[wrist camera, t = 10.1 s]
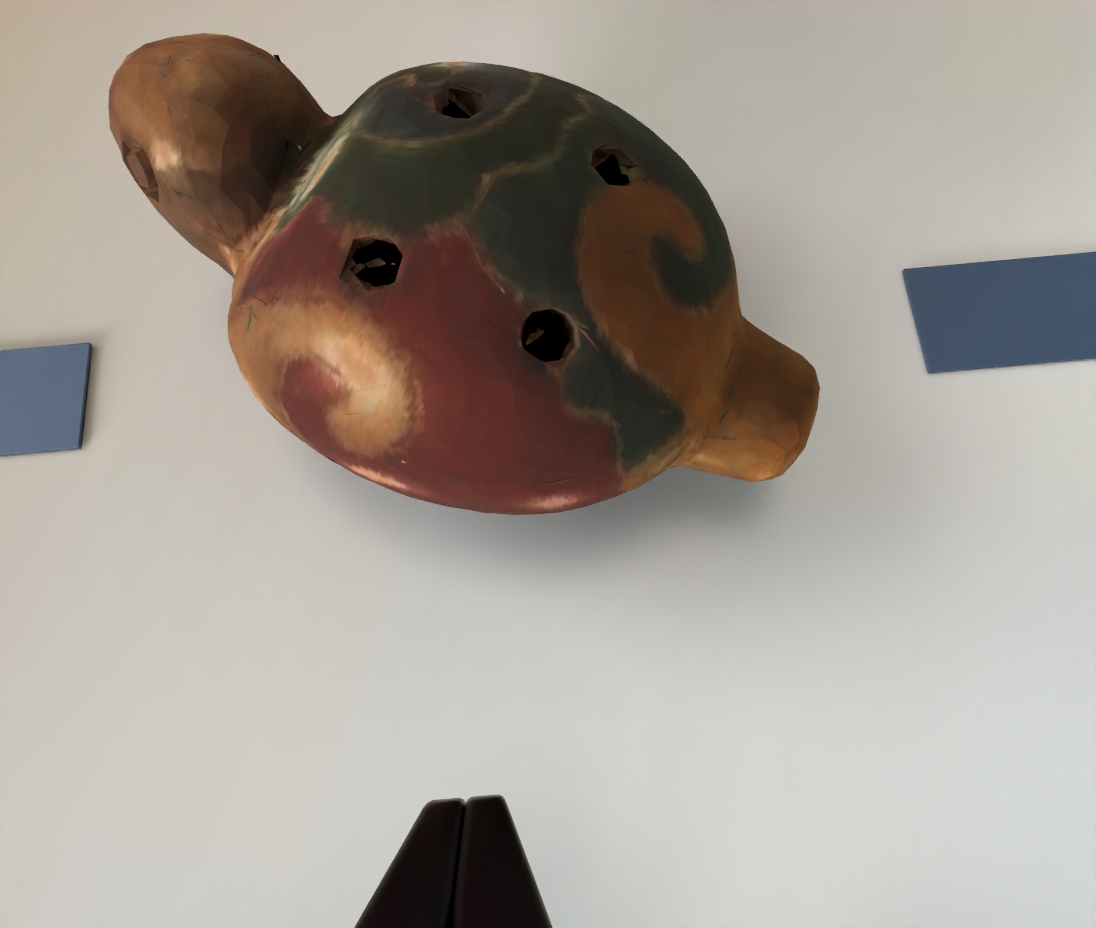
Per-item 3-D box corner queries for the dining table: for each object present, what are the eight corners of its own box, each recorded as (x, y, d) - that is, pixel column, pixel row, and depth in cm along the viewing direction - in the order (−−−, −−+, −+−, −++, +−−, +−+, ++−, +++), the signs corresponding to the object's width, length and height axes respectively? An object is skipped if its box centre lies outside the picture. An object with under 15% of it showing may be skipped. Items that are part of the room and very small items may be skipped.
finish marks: (1240, 345, 20) (1244, 343, 19) (-224, 475, 20) (-228, 474, 20) (1201, 243, 20) (1203, 241, 20) (-200, 370, 21) (-203, 368, 21)
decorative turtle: (294, 151, 22) (184, -144, 15) (795, 305, 21) (952, 76, 14) (133, 444, 19) (-113, 262, 12) (711, 640, 18) (853, 580, 11)
